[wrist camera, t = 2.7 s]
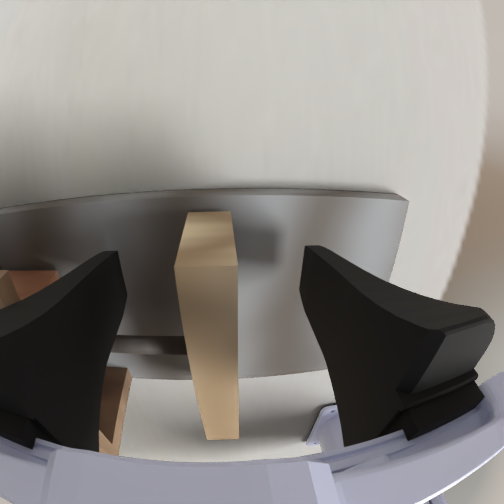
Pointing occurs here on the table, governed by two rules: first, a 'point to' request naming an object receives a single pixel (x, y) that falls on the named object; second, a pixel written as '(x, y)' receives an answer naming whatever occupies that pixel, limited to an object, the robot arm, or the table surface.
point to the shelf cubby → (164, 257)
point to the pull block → (193, 318)
